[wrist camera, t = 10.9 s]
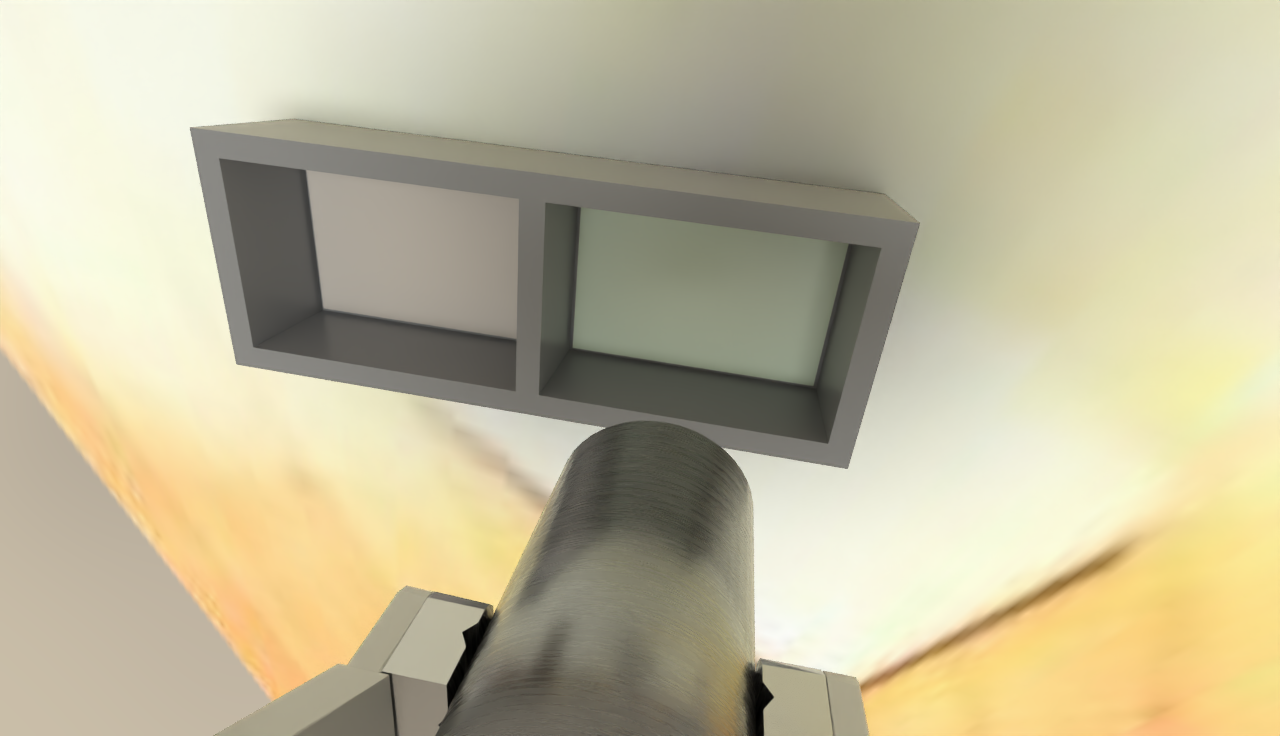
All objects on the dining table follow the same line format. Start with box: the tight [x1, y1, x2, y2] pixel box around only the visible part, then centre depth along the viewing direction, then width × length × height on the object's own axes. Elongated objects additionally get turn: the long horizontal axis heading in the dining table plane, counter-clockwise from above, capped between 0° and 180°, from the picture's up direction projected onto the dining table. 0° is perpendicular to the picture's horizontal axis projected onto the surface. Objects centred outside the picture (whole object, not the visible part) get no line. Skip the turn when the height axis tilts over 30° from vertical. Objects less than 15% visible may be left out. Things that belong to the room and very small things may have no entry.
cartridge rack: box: [190, 119, 920, 469], centre depth 27 cm, size 10×27×6 cm, turn 84°
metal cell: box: [436, 421, 756, 736], centre depth 9 cm, size 4×4×11 cm
